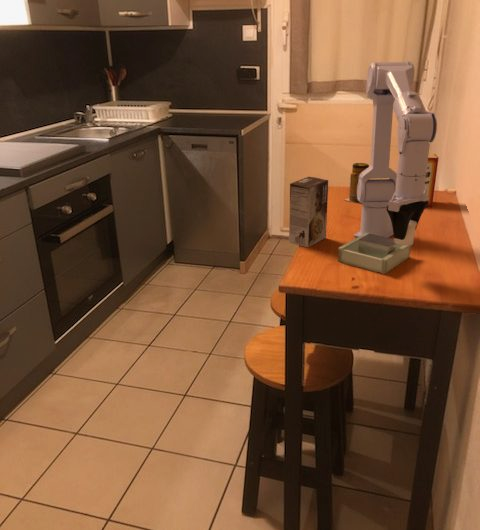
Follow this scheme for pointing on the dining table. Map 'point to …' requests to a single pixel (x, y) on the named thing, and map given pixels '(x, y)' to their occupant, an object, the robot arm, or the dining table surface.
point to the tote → (352, 257)
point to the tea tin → (376, 246)
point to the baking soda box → (431, 176)
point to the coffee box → (308, 211)
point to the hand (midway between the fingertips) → (404, 235)
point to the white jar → (408, 235)
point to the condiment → (355, 180)
